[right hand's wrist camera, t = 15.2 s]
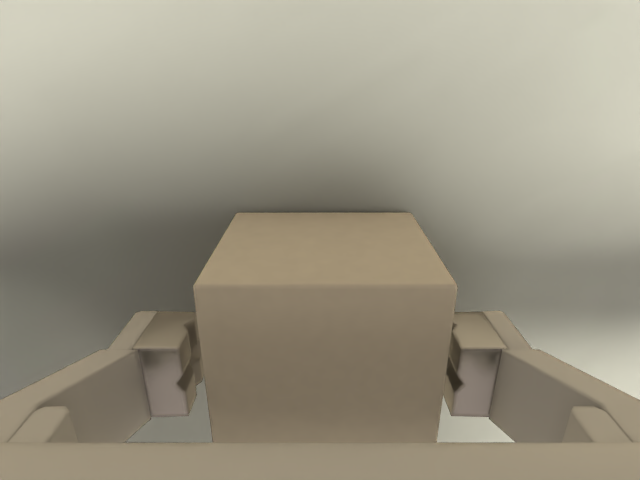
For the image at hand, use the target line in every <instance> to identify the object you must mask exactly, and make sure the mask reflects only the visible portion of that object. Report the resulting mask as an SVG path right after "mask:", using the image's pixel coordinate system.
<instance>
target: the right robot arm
mask: <svg viewBox="0 0 640 480" xmlns="http://www.w3.org/2000/svg"><path fill="white" fill-rule="evenodd" d="M203 377H204V370H203V362H202V354H201V346H200V339H199V331H198V323H197V315H196V312H172V311H160V312H159V311H140V312H136V313H135V314H134V316H133V317H132V318H131V319H130V321H129V322H128V323H127V325H126V326H125V327H124V328H123V330H122V331H121V332H120V334H119V335H118V336H117V338H116V339H115V340H114V341H113V343H112V344H111V345H110V347H109V348H108V349H103V350H99V351H97V352H95V353H93V354H91V355H89V356H87V357H85V358H83V359H81V360H79V361H77V362H75V363H73V364H71V365H69V366H67V367H65V368H63V369H61V370H59V371H57V372H55V373H53V374H51V375H49V376H47V377H45V378H43V379H41V380H39V381H37V382H35V383H33V384H31V385H29V386H27V387H25V388H23V389H21V390H19V391H17V392H15V393H13V394H11V395H9V396H7V397H5V398H3V399H1V400H0V480H640V400H638V399H636V398H634V397H632V396H630V395H628V394H626V393H625V392H623V391H621V390H619V389H617V388H615V387H613V386H611V385H609V384H607V383H605V382H603V381H601V380H599V379H597V378H595V377H593V376H591V375H589V374H587V373H585V372H583V371H581V370H579V369H577V368H575V367H573V366H571V365H569V364H567V363H565V362H563V361H561V360H559V359H557V358H555V357H553V356H551V355H549V354H547V353H545V352H543V351H541V350H537V349H532V348H531V347H530V345H529V344H528V343H527V342H526V340H525V339H524V338H523V336H522V335H521V334H520V333H519V331H518V330H517V329H516V327H515V326H514V325H513V324H512V322H511V321H510V320H509V318H508V317H507V316H506V315H505V313H504V312H501V311H482V312H454V317H453V325H452V332H451V340H450V347H449V354H448V362H447V369H446V376H445V384H444V391H443V396H444V398H445V401H446V404H447V406H448V409H449V411H450V414H451V416H474V417H489V419H490V420H491V421H492V422H493V423H494V424H496V425H497V426H498V427H499V428H500V429H501V430H502V431H503V432H505V433H506V434H507V435H508V436H509V437H510V438H511V439H512V440H514V441H515V442H516V443H124V442H125V441H126V440H128V439H129V438H130V437H131V436H132V435H133V434H134V433H136V432H137V431H138V430H139V429H140V428H141V427H142V426H144V425H145V424H146V423H147V422H148V421H149V420H150V419H151V417H166V416H189V414H190V411H191V409H192V406H193V403H194V401H195V398H196V396H197V392H196V385H198V384H199V383H200V382H202V380H203Z"/></svg>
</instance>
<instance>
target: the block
mask: <svg viewBox="0 0 640 480" xmlns="http://www.w3.org/2000/svg"><path fill="white" fill-rule="evenodd" d="M457 288H458V287H457V284H456V283H455V281H454V279H453V278H452V276H451V275H450V273H449V272H448V270H447V268H446V267H445V265H444V264H443V262H442V261H441V259H440V257H439V256H438V254H437V253H436V251H435V250H434V248H433V246H432V245H431V243H430V242H429V240H428V239H427V237H426V235H425V234H424V232H423V231H422V229H421V228H420V226H419V224H418V223H417V221H416V220H415V218H414V217H413V215H412V213H236V214H235V216H234V218H233V219H232V221H231V223H230V224H229V226H228V228H227V230H226V231H225V233H224V235H223V236H222V238H221V240H220V241H219V243H218V245H217V246H216V248H215V250H214V251H213V253H212V255H211V257H210V258H209V260H208V262H207V263H206V265H205V267H204V268H203V270H202V272H201V273H200V275H199V277H198V278H197V280H196V282H195V284H194V286H193V292H194V299H195V307H196V315H197V323H198V331H199V339H200V346H201V354H202V362H203V370H204V378H205V385H206V393H207V401H208V409H209V417H210V424H211V432H212V440H213V443H437V435H438V428H439V420H440V413H441V406H442V398H443V391H444V384H445V376H446V369H447V362H448V354H449V347H450V340H451V332H452V325H453V317H454V310H455V303H456V295H457Z"/></svg>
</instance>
